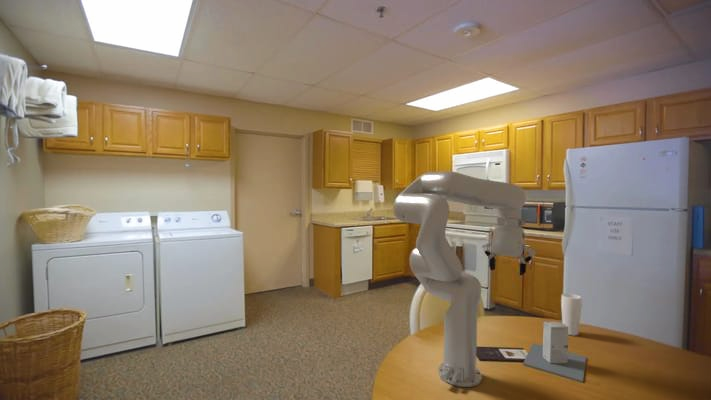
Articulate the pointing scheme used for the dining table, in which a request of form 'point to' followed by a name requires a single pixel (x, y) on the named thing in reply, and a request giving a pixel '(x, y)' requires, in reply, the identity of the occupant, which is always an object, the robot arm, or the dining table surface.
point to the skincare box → (555, 342)
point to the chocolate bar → (501, 354)
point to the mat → (556, 364)
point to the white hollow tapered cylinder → (571, 312)
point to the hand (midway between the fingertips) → (506, 272)
